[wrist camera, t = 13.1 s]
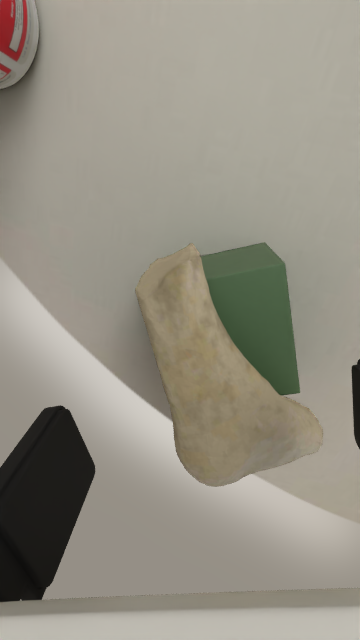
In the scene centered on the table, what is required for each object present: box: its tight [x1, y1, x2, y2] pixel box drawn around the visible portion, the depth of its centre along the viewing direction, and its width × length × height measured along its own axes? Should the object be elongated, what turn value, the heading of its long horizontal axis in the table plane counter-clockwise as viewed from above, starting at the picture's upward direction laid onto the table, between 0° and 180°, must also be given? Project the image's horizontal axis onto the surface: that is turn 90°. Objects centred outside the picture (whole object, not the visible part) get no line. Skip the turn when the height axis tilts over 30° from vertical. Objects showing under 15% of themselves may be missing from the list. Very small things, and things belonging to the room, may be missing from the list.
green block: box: [201, 243, 300, 395], centre depth 18 cm, size 7×7×6 cm
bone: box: [135, 243, 323, 487], centre depth 14 cm, size 11×6×5 cm, turn 37°
